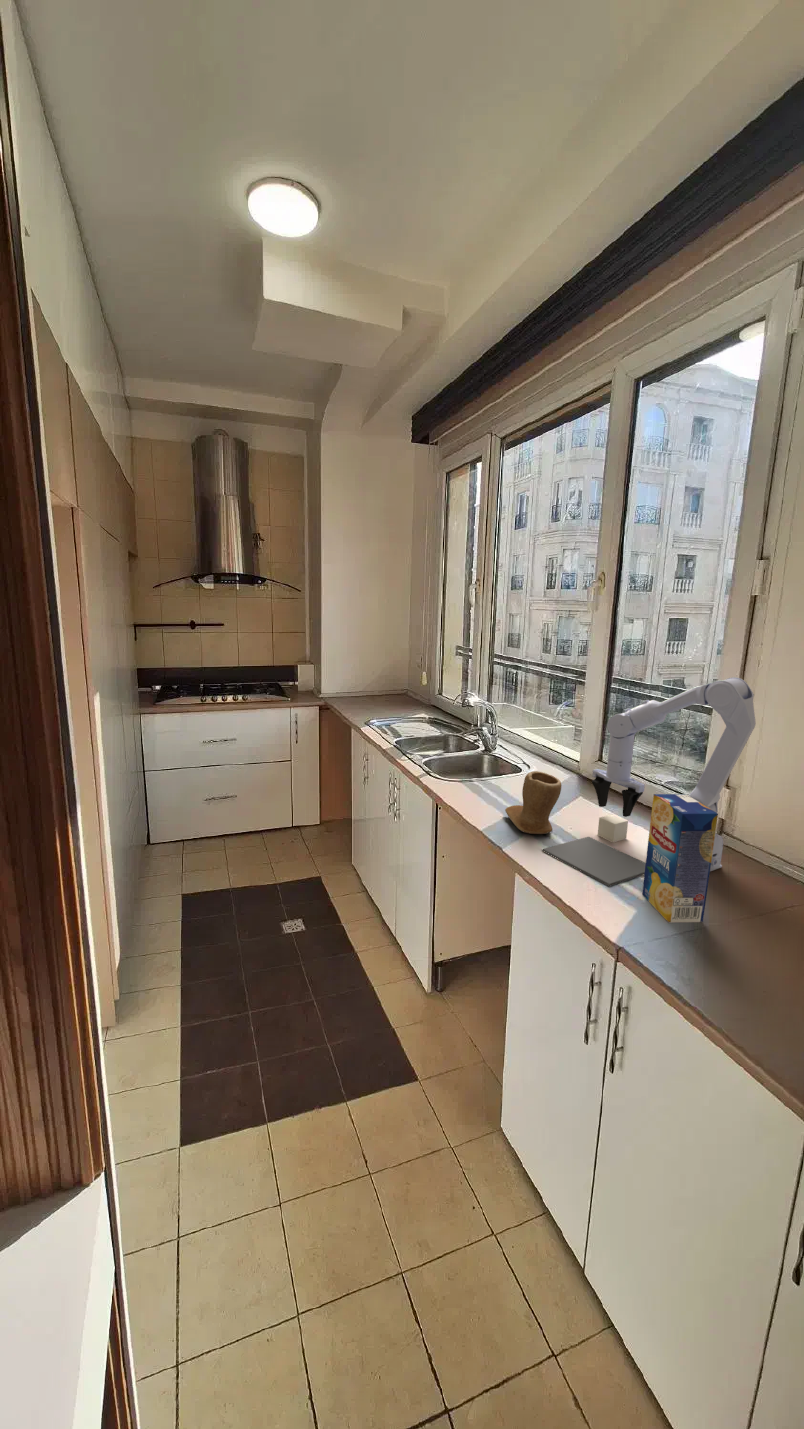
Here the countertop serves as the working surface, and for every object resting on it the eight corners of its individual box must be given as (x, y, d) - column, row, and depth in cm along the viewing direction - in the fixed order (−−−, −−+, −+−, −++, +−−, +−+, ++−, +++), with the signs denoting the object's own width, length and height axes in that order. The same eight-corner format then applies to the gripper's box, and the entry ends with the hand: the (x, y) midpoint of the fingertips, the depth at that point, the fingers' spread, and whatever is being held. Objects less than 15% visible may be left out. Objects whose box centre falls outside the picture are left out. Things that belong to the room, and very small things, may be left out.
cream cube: (626, 838, 151) (628, 820, 150) (613, 842, 149) (615, 824, 148) (610, 832, 156) (612, 814, 155) (597, 835, 153) (599, 817, 152)
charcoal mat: (656, 870, 134) (657, 867, 134) (609, 886, 126) (609, 883, 126) (588, 838, 151) (588, 836, 150) (542, 851, 142) (542, 848, 142)
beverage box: (673, 893, 123) (686, 794, 119) (703, 922, 113) (718, 813, 108) (641, 894, 123) (653, 794, 118) (668, 922, 112) (682, 813, 108)
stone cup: (564, 837, 151) (568, 781, 148) (518, 838, 150) (522, 781, 147) (545, 815, 166) (549, 764, 163) (503, 816, 165) (507, 764, 162)
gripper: (654, 765, 144) (648, 817, 147) (607, 751, 156) (602, 799, 159) (636, 769, 141) (630, 822, 143) (588, 754, 153) (584, 803, 155)
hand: (614, 810), depth 151 cm, fingers open, 7 cm apart
